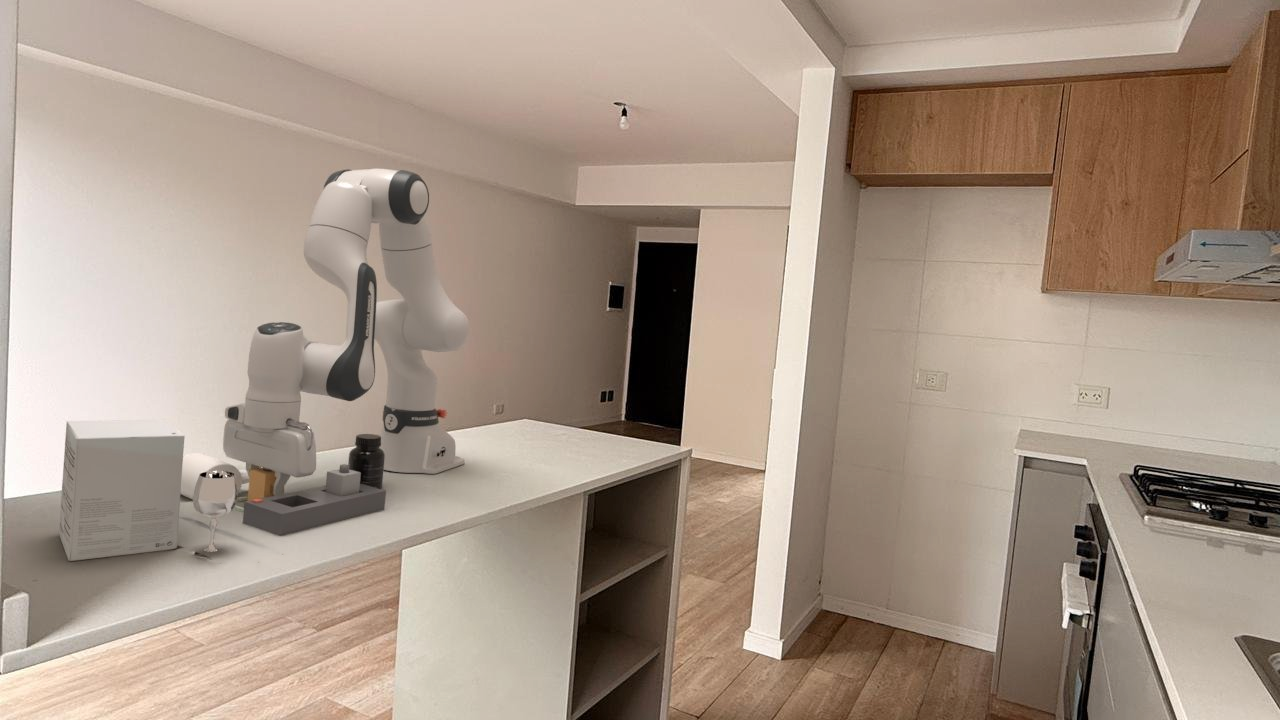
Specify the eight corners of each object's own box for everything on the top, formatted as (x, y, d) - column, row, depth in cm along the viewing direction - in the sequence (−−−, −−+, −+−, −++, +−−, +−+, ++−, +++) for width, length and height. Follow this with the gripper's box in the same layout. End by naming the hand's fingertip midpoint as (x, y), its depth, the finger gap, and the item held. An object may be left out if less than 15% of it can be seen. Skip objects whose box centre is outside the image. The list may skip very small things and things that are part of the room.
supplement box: (159, 524, 123) (167, 418, 122) (178, 549, 113) (186, 434, 112) (57, 534, 114) (64, 419, 113) (67, 562, 104) (75, 437, 103)
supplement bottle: (339, 492, 153) (344, 433, 152) (371, 488, 158) (376, 431, 157) (355, 500, 148) (360, 440, 147) (387, 497, 153) (393, 438, 152)
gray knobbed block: (341, 505, 139) (345, 461, 138) (357, 510, 137) (361, 466, 136) (323, 509, 135) (327, 464, 135) (339, 514, 133) (343, 469, 133)
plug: (267, 504, 137) (270, 459, 137) (282, 509, 136) (285, 464, 135) (247, 508, 134) (250, 462, 133) (262, 513, 132) (265, 467, 132)
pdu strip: (348, 506, 144) (350, 479, 143) (383, 517, 140) (386, 489, 139) (242, 531, 124) (244, 500, 124) (279, 544, 120) (282, 512, 120)
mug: (195, 511, 131) (198, 466, 131) (167, 498, 137) (170, 454, 136) (262, 500, 141) (265, 458, 141) (233, 488, 147) (236, 448, 146)
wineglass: (204, 544, 116) (209, 468, 116) (240, 549, 116) (246, 472, 115) (180, 557, 111) (185, 476, 110) (218, 562, 110) (224, 481, 110)
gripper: (328, 423, 132) (322, 500, 133) (250, 404, 141) (245, 477, 142) (297, 426, 126) (291, 507, 127) (218, 406, 135) (213, 482, 136)
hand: (266, 491), depth 135 cm, fingers closed on plug, 4 cm apart
